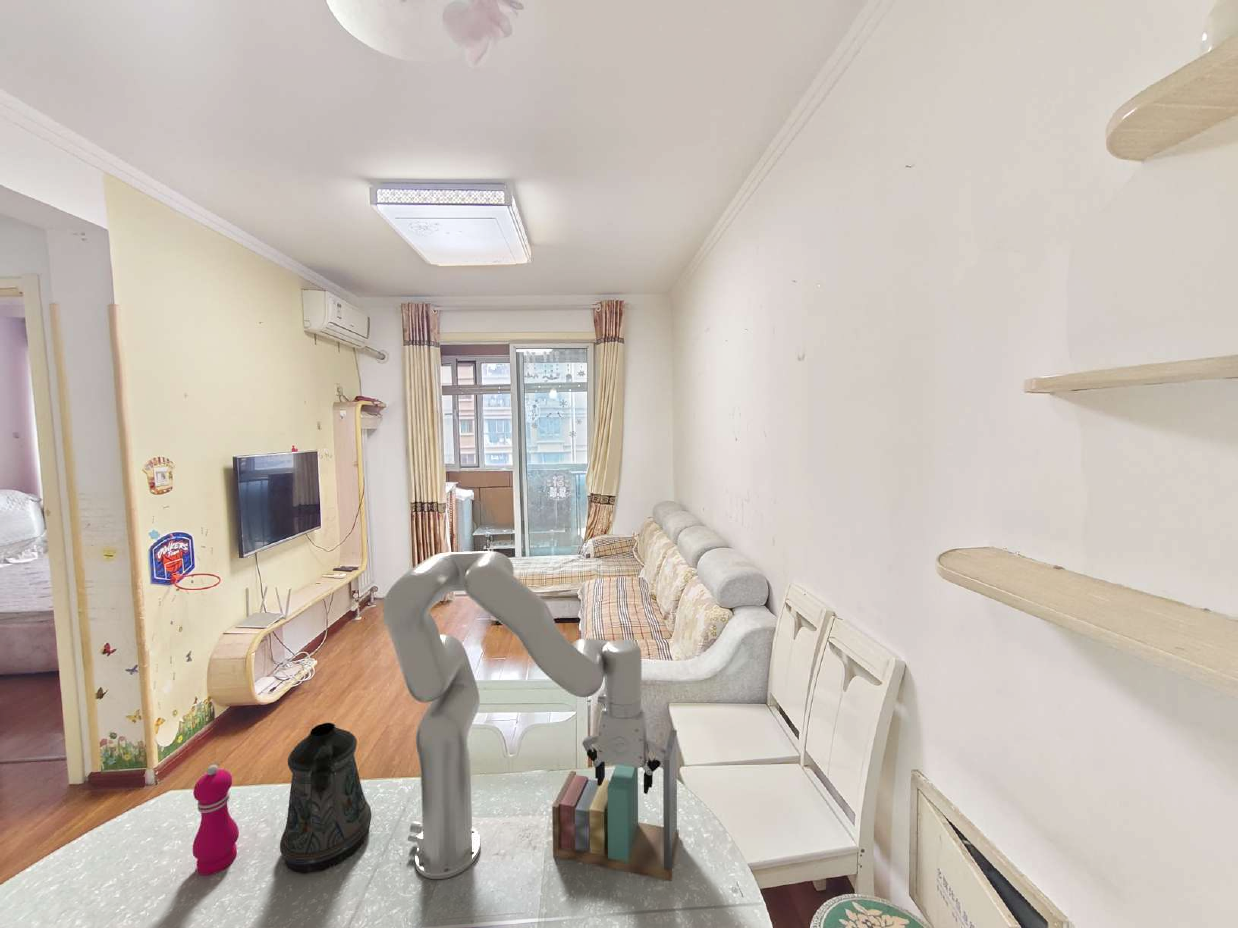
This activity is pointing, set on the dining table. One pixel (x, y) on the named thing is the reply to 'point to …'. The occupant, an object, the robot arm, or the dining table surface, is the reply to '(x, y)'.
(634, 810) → the loose book
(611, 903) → the dining table surface
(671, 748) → the bookend
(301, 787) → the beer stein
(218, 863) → the pepper mill
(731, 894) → the dining table surface
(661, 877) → the book rack
